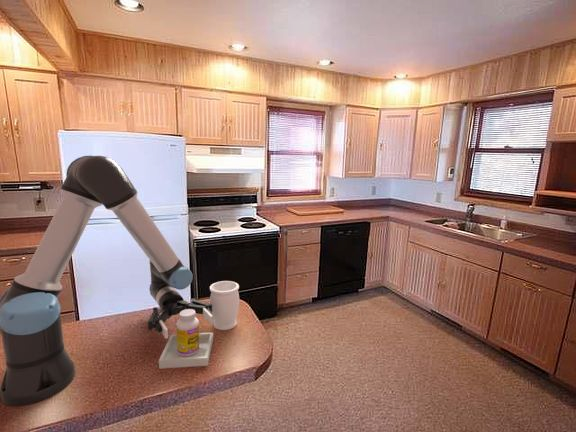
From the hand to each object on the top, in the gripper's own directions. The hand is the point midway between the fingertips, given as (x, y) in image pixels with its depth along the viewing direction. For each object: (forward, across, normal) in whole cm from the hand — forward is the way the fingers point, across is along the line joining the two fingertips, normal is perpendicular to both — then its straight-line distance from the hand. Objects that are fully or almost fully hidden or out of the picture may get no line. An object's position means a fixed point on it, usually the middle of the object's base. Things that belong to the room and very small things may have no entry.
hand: (190, 327), depth 90 cm
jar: (-12, -17, -10) cm, 23 cm away
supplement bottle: (-3, 0, -10) cm, 10 cm away
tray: (-3, 0, -10) cm, 10 cm away
